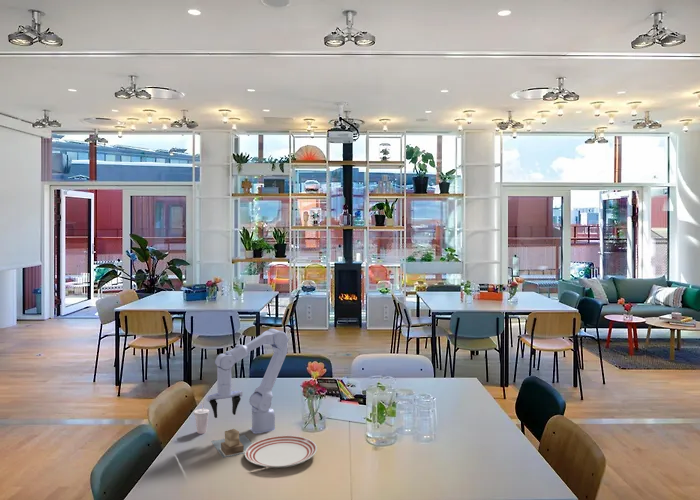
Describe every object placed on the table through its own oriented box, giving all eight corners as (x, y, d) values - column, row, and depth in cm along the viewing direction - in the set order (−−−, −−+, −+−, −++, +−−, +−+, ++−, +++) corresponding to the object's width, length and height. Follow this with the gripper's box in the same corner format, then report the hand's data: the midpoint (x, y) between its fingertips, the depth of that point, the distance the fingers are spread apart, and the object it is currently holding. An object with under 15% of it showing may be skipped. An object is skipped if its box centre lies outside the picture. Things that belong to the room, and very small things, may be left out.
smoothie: (205, 436, 223) (205, 403, 222) (191, 435, 224) (190, 402, 224) (212, 431, 229) (211, 399, 229) (198, 430, 231) (198, 398, 230)
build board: (244, 436, 223) (244, 434, 223) (258, 451, 208) (258, 450, 208) (211, 442, 217) (211, 441, 217) (223, 459, 201) (223, 457, 201)
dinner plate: (257, 480, 184) (257, 470, 184) (236, 450, 208) (236, 442, 208) (328, 464, 197) (329, 455, 197) (301, 438, 221) (301, 430, 221)
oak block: (234, 441, 211) (233, 428, 210) (239, 444, 208) (239, 431, 207) (224, 443, 208) (224, 431, 208) (230, 447, 205) (229, 434, 205)
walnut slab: (238, 445, 212) (238, 439, 212) (243, 451, 206) (243, 445, 206) (221, 449, 209) (220, 442, 209) (225, 455, 203) (225, 449, 203)
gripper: (238, 378, 227) (239, 409, 227) (204, 383, 220) (205, 415, 220) (243, 382, 220) (244, 414, 221) (208, 387, 213) (209, 420, 214)
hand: (224, 415), depth 220 cm, fingers open, 7 cm apart
